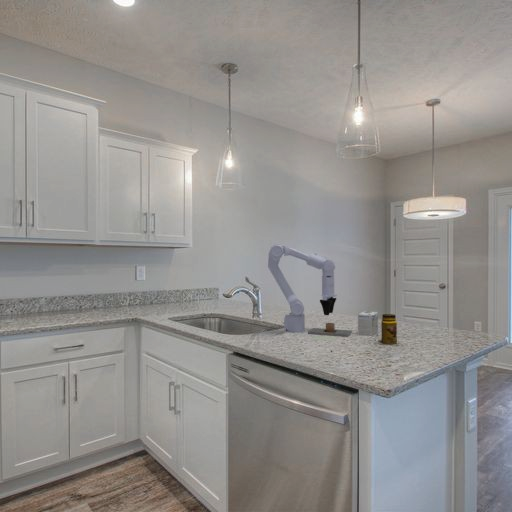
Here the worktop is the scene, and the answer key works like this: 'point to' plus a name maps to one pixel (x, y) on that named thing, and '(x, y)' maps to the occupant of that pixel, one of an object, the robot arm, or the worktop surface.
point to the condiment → (388, 330)
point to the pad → (324, 338)
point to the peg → (330, 327)
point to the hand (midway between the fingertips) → (328, 314)
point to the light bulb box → (368, 323)
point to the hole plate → (323, 332)
